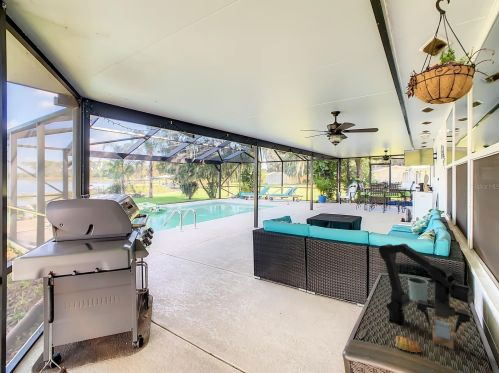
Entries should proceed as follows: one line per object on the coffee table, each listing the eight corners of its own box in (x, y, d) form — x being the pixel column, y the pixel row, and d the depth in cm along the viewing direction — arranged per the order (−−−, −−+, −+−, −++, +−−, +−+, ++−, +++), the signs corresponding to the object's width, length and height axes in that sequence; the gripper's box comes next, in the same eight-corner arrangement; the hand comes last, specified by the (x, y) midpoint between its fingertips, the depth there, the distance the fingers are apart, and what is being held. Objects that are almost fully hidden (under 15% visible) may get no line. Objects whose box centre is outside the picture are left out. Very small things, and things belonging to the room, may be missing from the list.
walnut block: (433, 344, 110) (433, 336, 110) (432, 336, 116) (432, 328, 116) (453, 350, 106) (453, 341, 106) (451, 341, 112) (451, 333, 112)
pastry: (420, 347, 108) (420, 339, 107) (421, 357, 102) (421, 348, 102) (395, 340, 113) (395, 332, 112) (395, 349, 107) (395, 340, 107)
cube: (435, 335, 110) (435, 324, 110) (435, 330, 114) (435, 319, 114) (449, 339, 107) (449, 328, 107) (449, 334, 111) (449, 323, 111)
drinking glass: (432, 303, 145) (431, 283, 145) (414, 303, 146) (414, 283, 146) (420, 295, 156) (420, 277, 156) (404, 296, 156) (404, 277, 156)
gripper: (415, 295, 110) (415, 330, 110) (471, 308, 98) (471, 346, 99) (417, 287, 119) (417, 319, 119) (469, 297, 107) (469, 333, 107)
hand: (442, 328), depth 111 cm, fingers open, 9 cm apart
